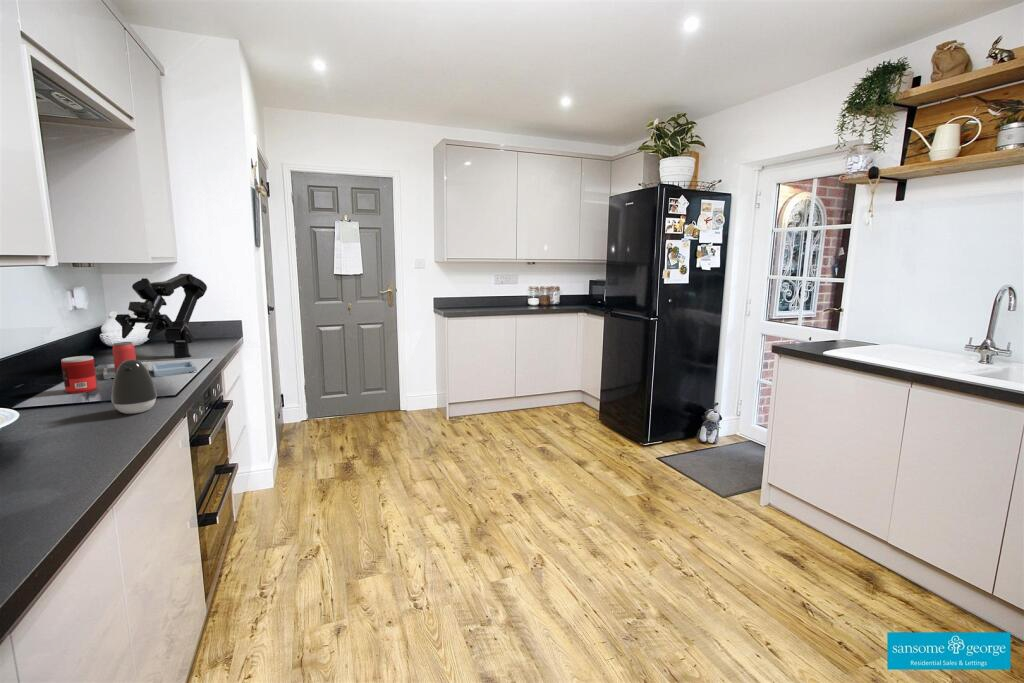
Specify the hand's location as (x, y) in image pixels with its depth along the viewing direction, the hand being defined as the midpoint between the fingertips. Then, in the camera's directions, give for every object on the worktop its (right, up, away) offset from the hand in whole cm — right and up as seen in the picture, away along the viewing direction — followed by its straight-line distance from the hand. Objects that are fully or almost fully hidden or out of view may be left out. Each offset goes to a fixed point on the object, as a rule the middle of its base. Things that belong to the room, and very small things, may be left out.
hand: (135, 337), depth 185 cm
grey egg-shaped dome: (+38, -22, -48) cm, 65 cm away
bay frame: (0, -14, -5) cm, 15 cm away
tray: (+15, -13, +1) cm, 20 cm away
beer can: (0, -14, -5) cm, 15 cm away
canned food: (+4, -18, -27) cm, 33 cm away
